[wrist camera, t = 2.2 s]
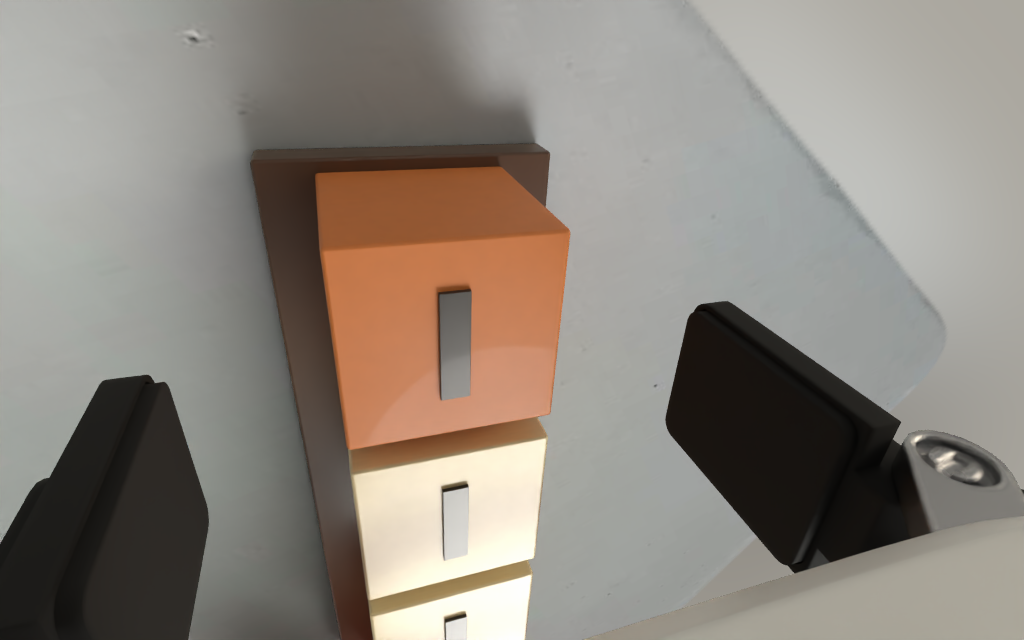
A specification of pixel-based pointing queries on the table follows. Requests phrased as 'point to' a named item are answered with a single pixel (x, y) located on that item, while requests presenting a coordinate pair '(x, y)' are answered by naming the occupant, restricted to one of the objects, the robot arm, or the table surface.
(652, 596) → the table surface
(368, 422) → the orange slotted cube
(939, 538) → the robot arm
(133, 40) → the table surface
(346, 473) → the slotted cubes on board
